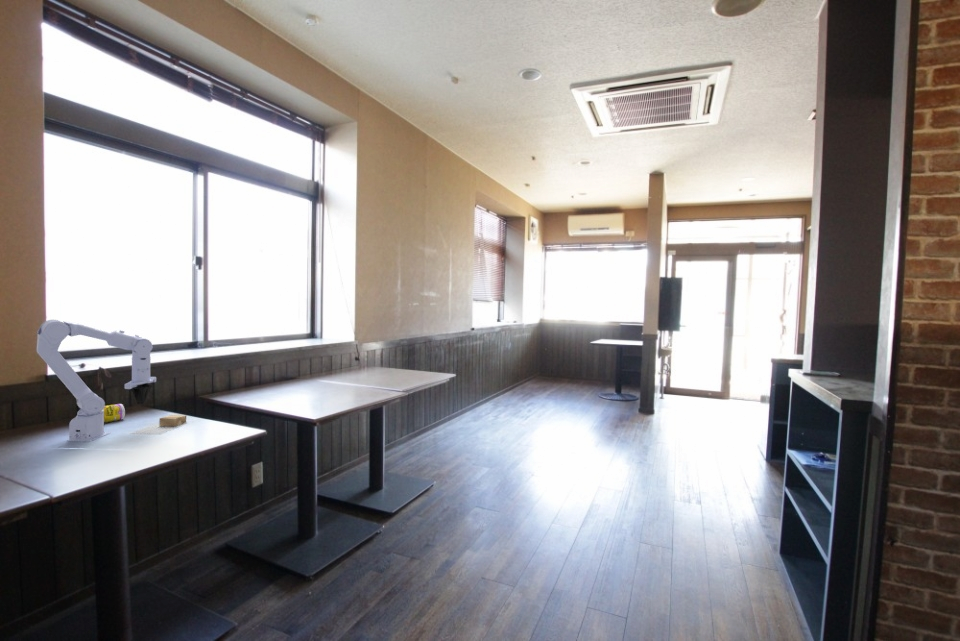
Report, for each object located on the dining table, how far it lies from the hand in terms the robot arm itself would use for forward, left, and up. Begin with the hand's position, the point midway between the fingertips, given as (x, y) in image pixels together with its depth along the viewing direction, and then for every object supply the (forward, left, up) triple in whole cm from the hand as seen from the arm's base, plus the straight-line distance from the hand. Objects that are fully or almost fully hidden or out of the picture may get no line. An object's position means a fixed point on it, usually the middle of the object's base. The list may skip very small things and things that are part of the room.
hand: (141, 403), depth 172 cm
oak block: (+3, -8, -8) cm, 12 cm away
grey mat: (-1, -7, -10) cm, 12 cm away
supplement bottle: (+12, +15, -6) cm, 21 cm away
